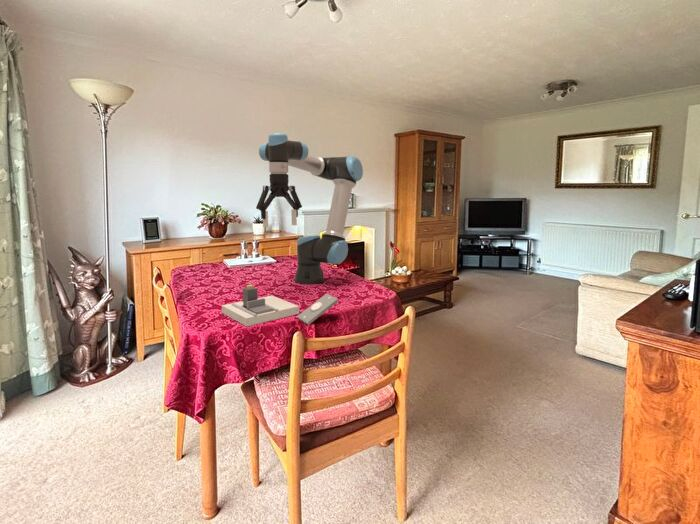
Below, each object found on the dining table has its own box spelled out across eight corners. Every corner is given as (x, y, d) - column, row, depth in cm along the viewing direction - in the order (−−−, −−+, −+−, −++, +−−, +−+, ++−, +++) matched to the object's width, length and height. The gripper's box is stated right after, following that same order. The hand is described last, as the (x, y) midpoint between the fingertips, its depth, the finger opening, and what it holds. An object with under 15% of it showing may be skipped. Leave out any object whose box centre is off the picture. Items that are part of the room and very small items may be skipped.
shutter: (246, 309, 149) (246, 301, 149) (263, 306, 154) (263, 298, 153) (256, 314, 144) (255, 305, 143) (273, 310, 149) (273, 302, 148)
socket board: (222, 312, 156) (221, 303, 155) (272, 302, 170) (271, 294, 169) (246, 326, 141) (246, 316, 140) (299, 313, 155) (299, 304, 154)
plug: (243, 313, 155) (242, 285, 153) (253, 311, 158) (252, 283, 155) (248, 316, 152) (247, 287, 150) (258, 313, 155) (257, 285, 153)
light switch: (295, 314, 149) (325, 291, 154) (302, 326, 151) (331, 303, 157) (305, 321, 142) (336, 296, 147) (313, 333, 144) (343, 309, 150)
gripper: (255, 172, 152) (257, 228, 156) (309, 174, 168) (310, 224, 172) (246, 173, 158) (248, 227, 162) (299, 174, 174) (300, 223, 178)
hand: (280, 226), depth 167 cm, fingers open, 13 cm apart
